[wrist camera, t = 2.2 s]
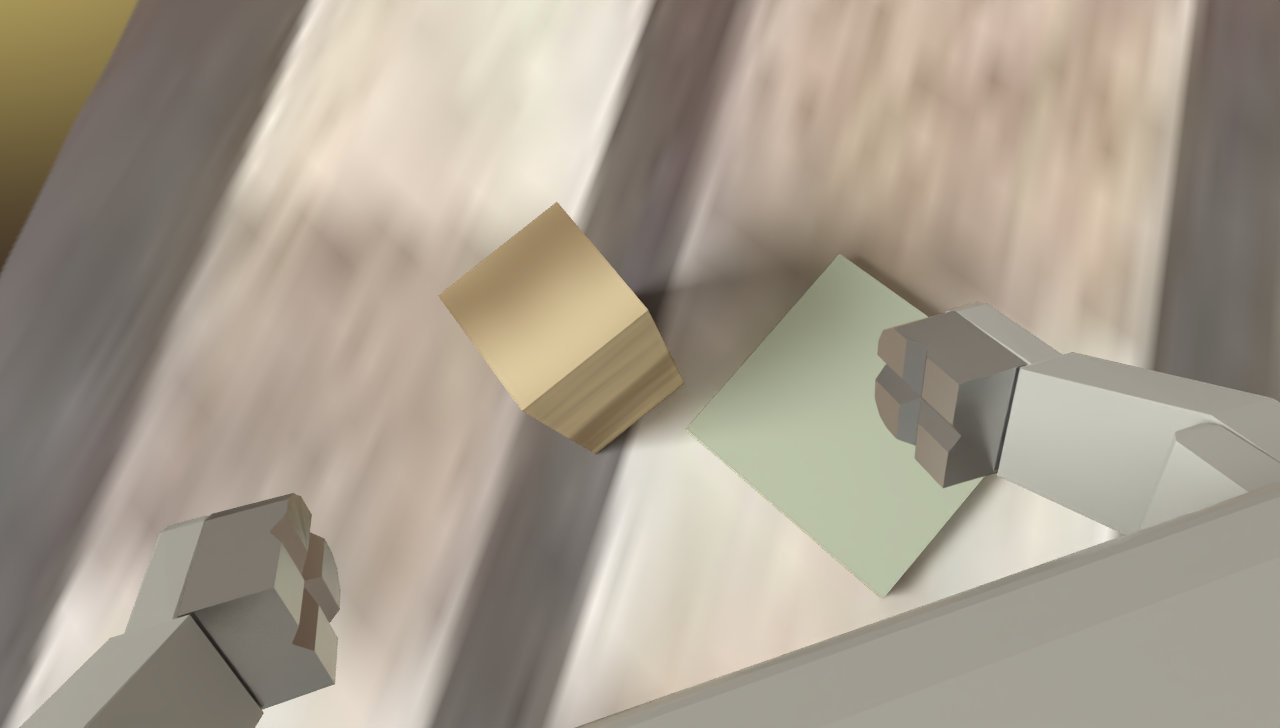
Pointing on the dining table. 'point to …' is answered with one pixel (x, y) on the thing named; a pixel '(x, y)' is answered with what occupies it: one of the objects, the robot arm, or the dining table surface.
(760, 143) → the dining table surface
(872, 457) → the tile
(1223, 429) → the robot arm
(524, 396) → the beech block
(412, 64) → the dining table surface
